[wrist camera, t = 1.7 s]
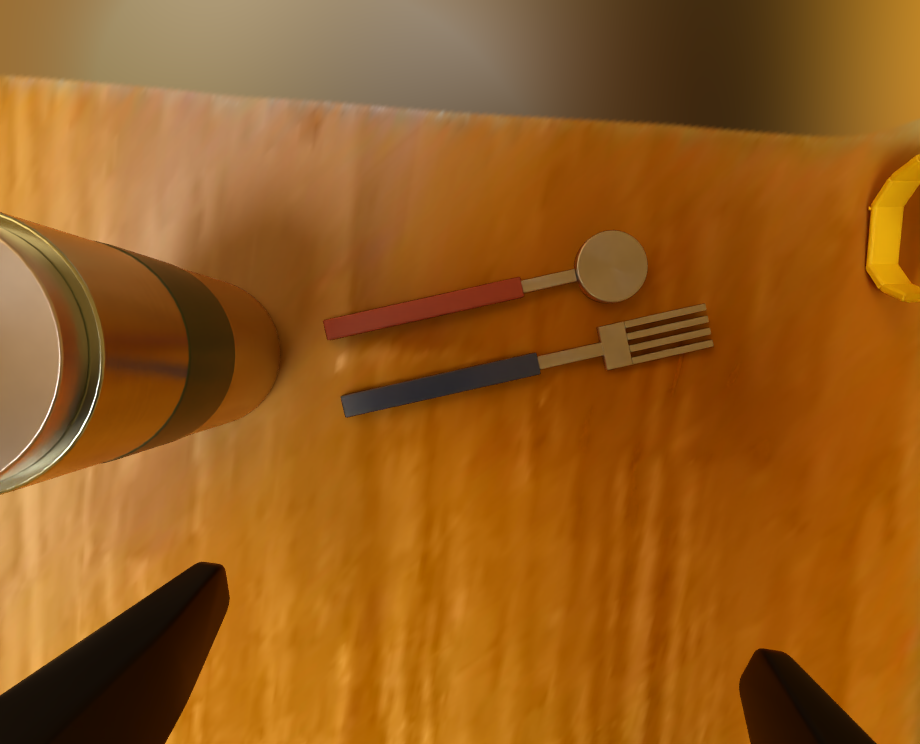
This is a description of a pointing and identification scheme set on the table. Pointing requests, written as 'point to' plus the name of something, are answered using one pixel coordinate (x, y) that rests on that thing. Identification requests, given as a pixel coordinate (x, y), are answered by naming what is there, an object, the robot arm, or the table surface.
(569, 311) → the table surface
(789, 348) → the table surface
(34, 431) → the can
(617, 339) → the fork
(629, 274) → the spoon
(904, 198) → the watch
